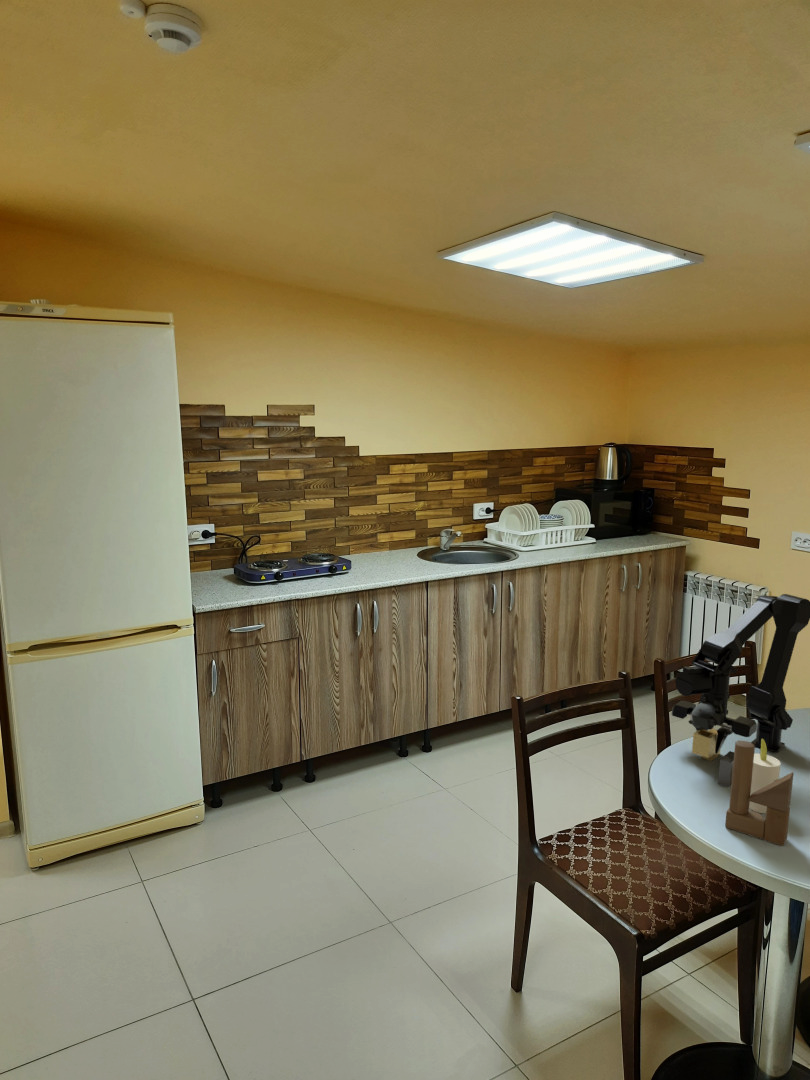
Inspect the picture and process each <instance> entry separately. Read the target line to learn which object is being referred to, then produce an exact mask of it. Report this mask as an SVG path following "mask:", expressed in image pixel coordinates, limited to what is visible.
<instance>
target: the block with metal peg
mask: <svg viewBox="0 0 810 1080" xmlns="http://www.w3.org/2000/svg"><path fill="white" fill-rule="evenodd" d="M736 742H737V741H735V743H736ZM735 743H734V744H735ZM733 762H734V751H730V750H729V751H728V752H727V753H726V754H724V755H723V756H722V757H721V758H720V759H719V768H718V780H717V784H718V785H720V786H724V787H727V788H731V784H732V773H733Z"/></svg>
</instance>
